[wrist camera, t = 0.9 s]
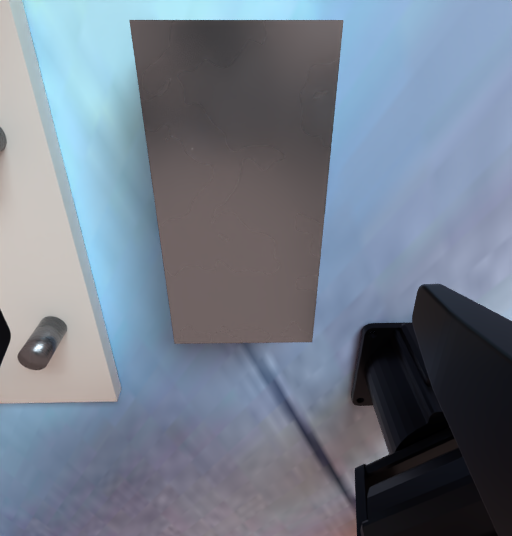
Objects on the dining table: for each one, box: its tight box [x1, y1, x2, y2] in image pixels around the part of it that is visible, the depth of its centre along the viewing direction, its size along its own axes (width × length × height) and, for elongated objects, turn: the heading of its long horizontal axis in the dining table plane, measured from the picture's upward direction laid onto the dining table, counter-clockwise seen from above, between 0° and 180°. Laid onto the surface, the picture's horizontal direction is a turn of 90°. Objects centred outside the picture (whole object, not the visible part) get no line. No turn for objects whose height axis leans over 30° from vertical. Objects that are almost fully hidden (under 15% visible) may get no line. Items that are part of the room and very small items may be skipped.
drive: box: [130, 20, 343, 344], centre depth 17 cm, size 12×6×5 cm, turn 0°
